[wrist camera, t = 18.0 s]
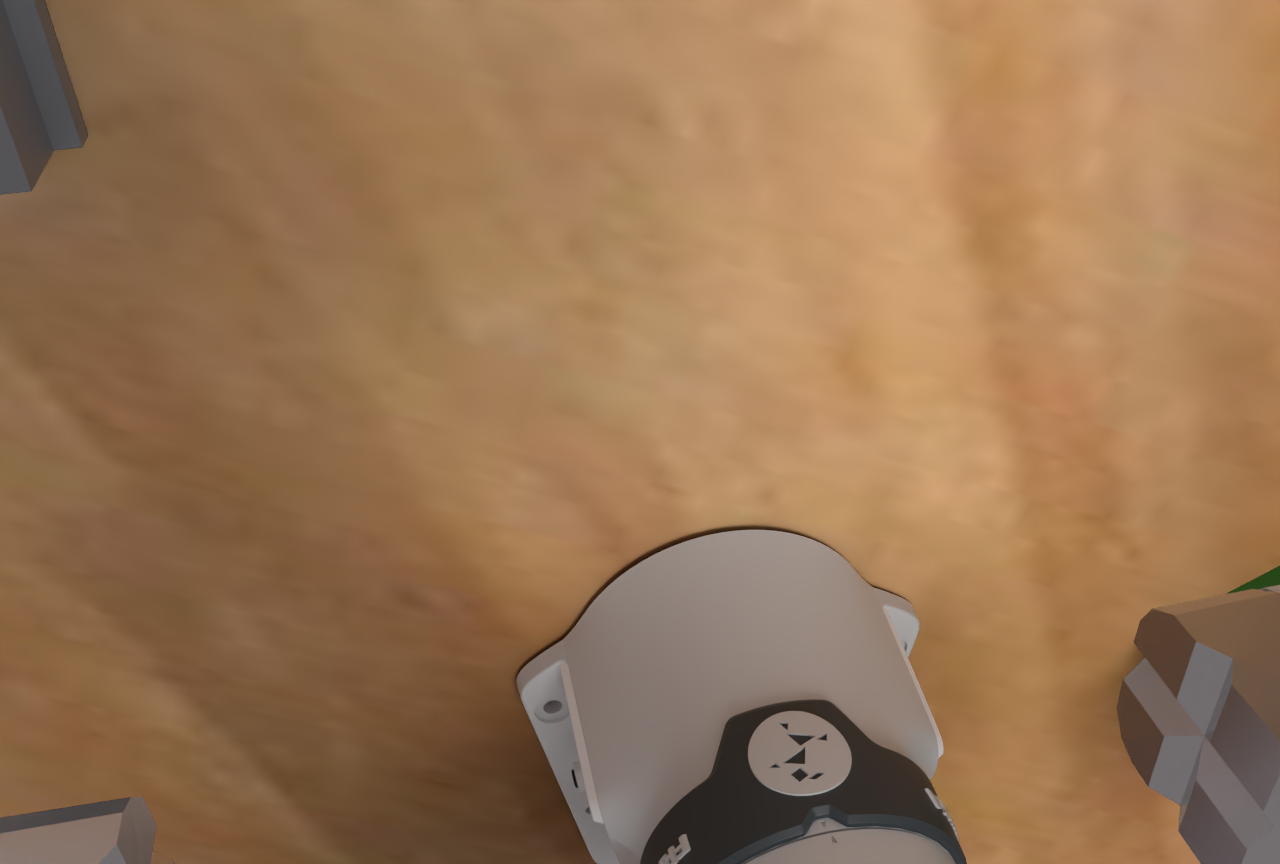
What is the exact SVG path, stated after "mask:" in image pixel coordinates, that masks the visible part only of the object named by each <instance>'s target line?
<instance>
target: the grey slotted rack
mask: <svg viewBox="0 0 1280 864" xmlns="http://www.w3.org/2000/svg"><path fill="white" fill-rule="evenodd" d="M87 136H88V133H87V130H86V127H85V124H84V121H83V118H82V115H81V112H80V109H79V106H78V102H77V99H76V96H75V93H74V90H73V87H72V84H71V81H70V78H69V75H68V71H67V68H66V65H65V62H64V59H63V56H62V53H61V50H60V47H59V43H58V40H57V37H56V34H55V31H54V28H53V25H52V22H51V19H50V16H49V12H48V9H47V6H46V3H45V0H0V194H10V193H19V192H29V191H32V189H33V187H34V186H35V184H36V182H37V180H38V178H39V176H40V175H41V173H42V171H43V169H44V167H45V165H46V164H47V162H48V160H49V158H50V156H51V154H52V153H53V151H54V150H63V149H72V148H82V147H83V144H84V142H85V140H86V138H87Z"/></svg>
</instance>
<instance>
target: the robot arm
mask: <svg viewBox="0 0 1280 864" xmlns="http://www.w3.org/2000/svg"><path fill="white" fill-rule="evenodd" d="M919 627H920V625H919V620H918V618H917V615H916V613H915V610H914V608H913V606H912V605H911V603H909V602H908V601H907V600H905V599H903V598H901V597H899V596H897V595H894V594H891V593H889V592H886V591H883V590H880V589H877V588H874V587H872V586H871V585H869V584H868V583H867V582H866V581H865V580H864V579H863V578H862V577H861V576H860V575H859V574H858V573H857V571H856V570H855V569H854V568H853V567H852V566H851V565H850V563H848V562H847V561H846V560H845V559H844V558H843V557H842V556H841V555H839V554H838V553H837V552H835V551H834V550H832V549H831V548H829V547H827V546H825V545H823V544H821V543H819V542H817V541H814V540H812V539H809V538H806V537H803V536H800V535H796V534H792V533H787V532H781V531H772V530H738V531H729V532H721V533H716V534H711V535H706V536H702V537H698V538H695V539H692V540H688V541H685V542H682V543H680V544H677V545H674V546H672V547H669V548H667V549H665V550H662V551H660V552H658V553H656V554H654V555H652V556H650V557H649V558H647V559H645V560H643V561H641V562H640V563H638V564H637V565H635V566H634V567H632V568H630V569H629V570H628V571H626V572H625V573H623V574H622V575H621V576H619V577H618V578H617V579H616V580H615V581H613V582H612V583H611V584H610V585H609V586H608V587H607V588H606V589H605V590H604V591H603V592H602V593H601V594H600V595H599V596H598V597H597V598H596V599H595V600H594V601H593V603H592V604H591V605H590V606H589V607H588V609H587V610H586V612H585V613H584V614H583V616H582V617H581V619H580V620H579V621H578V623H577V624H576V625H575V627H574V628H573V629H572V630H571V632H570V633H569V634H568V635H567V636H566V637H565V638H564V639H563V640H561V641H560V642H558V643H557V644H555V645H553V646H552V647H550V648H549V649H547V650H546V651H544V652H543V653H541V654H540V655H538V656H537V657H536V658H534V659H533V660H532V661H530V662H529V663H528V664H527V665H526V666H525V667H524V668H523V669H522V670H521V671H520V672H519V674H518V676H517V687H518V691H519V694H520V697H521V700H522V703H523V705H524V708H525V710H526V712H527V714H528V717H529V719H530V721H531V723H532V725H533V728H534V730H535V732H536V734H537V737H538V739H539V741H540V743H541V746H542V748H543V750H544V752H545V754H546V757H547V759H548V761H549V763H550V766H551V768H552V770H553V772H554V775H555V777H556V779H557V781H558V783H559V786H560V788H561V790H562V792H563V795H564V797H565V799H566V801H567V804H568V806H569V808H570V810H571V812H572V815H573V817H574V819H575V821H576V824H577V826H578V828H579V830H580V833H581V835H582V837H583V839H584V842H585V844H586V846H587V848H588V850H589V853H590V855H591V856H592V858H593V860H594V861H595V862H596V863H597V864H967V863H966V858H965V856H964V853H963V851H962V849H961V847H960V844H959V839H958V834H957V832H956V828H955V826H954V824H953V821H952V819H951V817H950V815H949V813H948V810H947V809H946V807H945V805H944V804H943V803H942V801H941V800H940V799H939V797H938V796H937V794H936V792H935V790H934V788H933V786H932V784H931V782H930V781H931V779H932V778H933V776H934V774H935V771H936V768H937V764H938V758H939V757H940V756H942V755H943V742H942V738H941V735H940V732H939V730H938V728H937V725H936V723H935V720H934V718H933V716H932V713H931V711H930V708H929V706H928V704H927V701H926V699H925V697H924V694H923V692H922V690H921V687H920V685H919V683H918V680H917V678H916V676H915V673H914V671H913V669H912V666H911V664H910V662H909V659H908V657H909V655H910V652H911V650H912V647H913V645H914V642H915V640H916V637H917V635H918V632H919ZM1134 643H1135V645H1136V646H1137V647H1138V649H1139V650H1140V651H1141V653H1142V654H1143V655H1144V657H1145V658H1144V659H1143V660H1142V661H1141V662H1140V663H1139V664H1138V665H1137V666H1136V667H1135V668H1134V669H1133V670H1132V671H1131V672H1130V673H1129V674H1128V675H1127V676H1126V677H1125V678H1124V679H1123V682H1122V686H1121V690H1120V695H1119V699H1118V704H1117V712H1118V718H1119V725H1120V731H1121V737H1122V740H1123V742H1124V745H1125V747H1126V749H1127V752H1128V754H1129V756H1130V759H1131V761H1132V763H1133V764H1134V766H1135V767H1136V769H1137V770H1138V772H1139V774H1140V775H1141V777H1142V778H1143V780H1144V781H1145V783H1146V784H1147V786H1148V787H1150V788H1151V789H1153V790H1155V791H1156V792H1158V793H1160V794H1162V795H1163V796H1165V797H1167V798H1169V799H1170V800H1172V801H1174V802H1175V803H1177V804H1179V805H1180V814H1179V829H1178V831H1179V833H1180V834H1181V836H1182V837H1183V838H1184V840H1185V841H1186V843H1187V844H1188V846H1189V847H1190V849H1191V850H1192V851H1193V853H1194V854H1195V856H1196V857H1197V859H1198V860H1199V862H1200V863H1201V864H1280V585H1276V586H1271V587H1265V588H1262V589H1259V590H1258V589H1250V590H1245V591H1240V592H1235V593H1230V594H1224V595H1219V596H1214V597H1209V598H1204V599H1199V600H1194V601H1189V602H1184V603H1179V604H1174V605H1169V606H1163V607H1158V608H1153V609H1152V610H1150V611H1149V612H1148V613H1147V614H1146V615H1145V616H1144V617H1143V618H1142V619H1141V620H1140V623H1139V627H1138V630H1137V633H1136V636H1135V640H1134ZM552 700H554V701H552ZM156 825H157V824H156V822H155V820H154V818H153V816H152V814H151V812H150V810H149V808H148V807H147V805H146V803H145V801H144V799H143V797H129V798H123V799H117V800H110V801H104V802H98V803H91V804H85V805H79V806H72V807H66V808H60V809H53V810H47V811H41V812H34V813H28V814H21V815H15V816H9V817H2V818H0V864H174V862H173V860H171V859H169V858H167V857H165V856H163V855H161V854H158V853H156V852H154V851H153V844H154V838H155V831H156Z"/></svg>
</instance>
